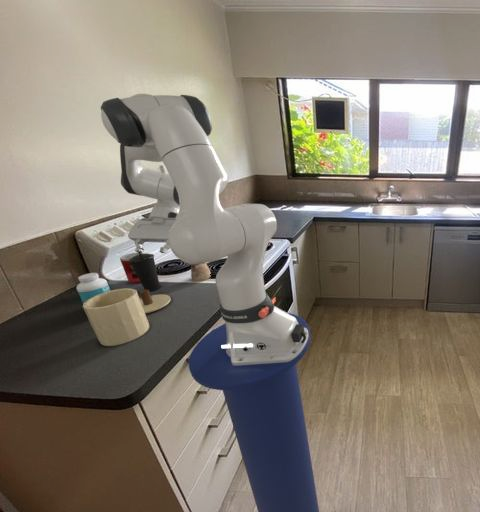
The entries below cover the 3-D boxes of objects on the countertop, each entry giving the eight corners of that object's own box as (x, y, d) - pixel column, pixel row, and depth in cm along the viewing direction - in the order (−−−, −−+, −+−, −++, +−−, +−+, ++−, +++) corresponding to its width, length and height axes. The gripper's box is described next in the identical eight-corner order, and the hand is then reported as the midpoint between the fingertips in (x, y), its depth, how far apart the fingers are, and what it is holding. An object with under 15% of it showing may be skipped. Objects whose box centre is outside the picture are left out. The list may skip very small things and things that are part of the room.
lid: (179, 297, 107) (175, 283, 105) (150, 317, 96) (144, 301, 93) (148, 296, 109) (143, 281, 106) (116, 315, 97) (109, 299, 95)
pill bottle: (118, 310, 100) (103, 275, 95) (88, 319, 95) (71, 282, 90) (116, 302, 105) (102, 268, 100) (88, 310, 100) (72, 275, 95)
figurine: (196, 274, 126) (189, 249, 121) (213, 273, 127) (207, 248, 122) (189, 282, 119) (181, 255, 115) (207, 280, 120) (200, 254, 116)
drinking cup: (139, 288, 114) (121, 241, 107) (162, 282, 119) (146, 236, 112) (142, 295, 109) (123, 246, 102) (166, 288, 114) (150, 241, 107)
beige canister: (158, 323, 93) (146, 289, 88) (125, 347, 82) (109, 309, 77) (126, 321, 94) (112, 287, 89) (89, 344, 83) (70, 307, 78)
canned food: (139, 275, 125) (130, 252, 121) (156, 275, 125) (148, 252, 121) (123, 283, 118) (114, 259, 114) (142, 284, 118) (133, 259, 114)
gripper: (131, 213, 105) (115, 247, 99) (183, 214, 103) (169, 249, 97) (146, 222, 110) (131, 255, 105) (195, 223, 108) (183, 256, 103)
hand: (150, 252), depth 101 cm, fingers open, 8 cm apart
